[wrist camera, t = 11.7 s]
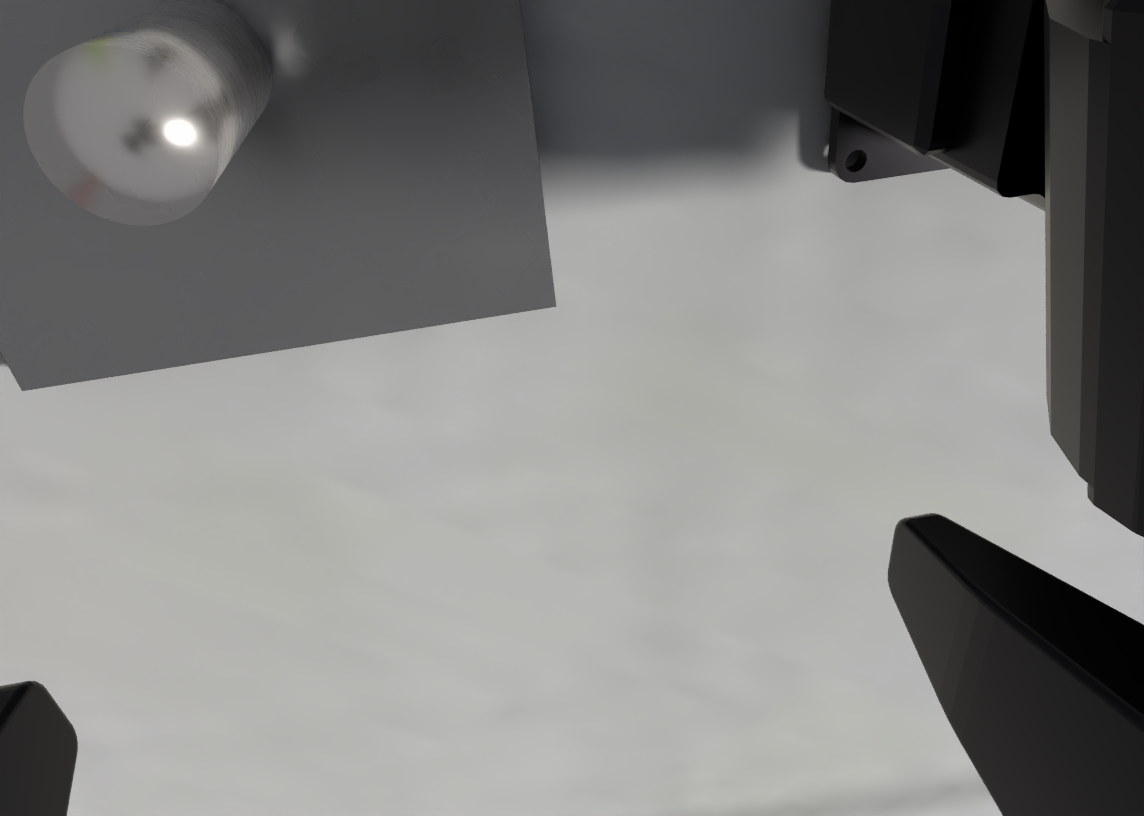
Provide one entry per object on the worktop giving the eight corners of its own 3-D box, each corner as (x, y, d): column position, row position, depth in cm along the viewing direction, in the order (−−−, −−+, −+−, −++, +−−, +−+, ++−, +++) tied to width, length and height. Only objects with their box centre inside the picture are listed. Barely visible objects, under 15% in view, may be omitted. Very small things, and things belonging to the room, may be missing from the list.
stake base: (468, -388, 13) (498, -549, 8) (550, 288, 20) (594, 426, 15) (-329, -316, 12) (-842, -447, 7) (39, 368, 19) (-96, 543, 14)
